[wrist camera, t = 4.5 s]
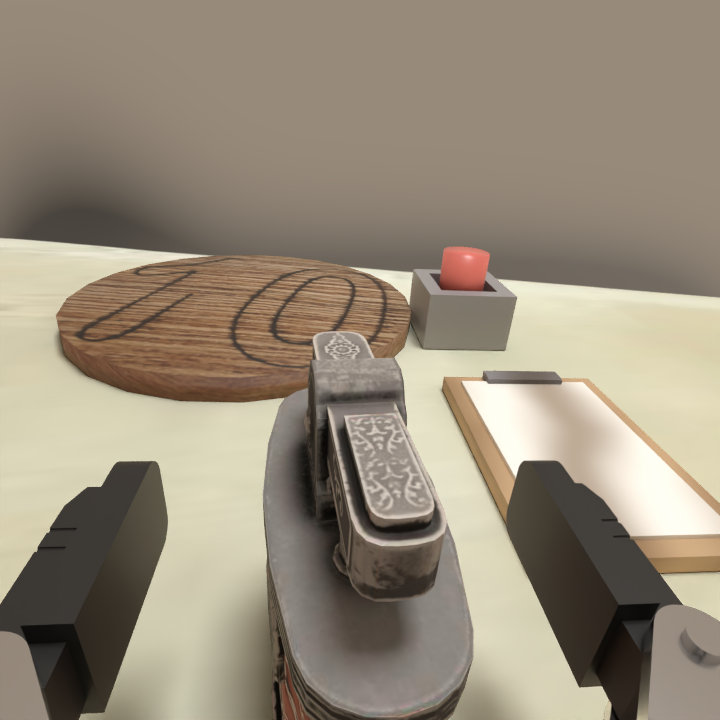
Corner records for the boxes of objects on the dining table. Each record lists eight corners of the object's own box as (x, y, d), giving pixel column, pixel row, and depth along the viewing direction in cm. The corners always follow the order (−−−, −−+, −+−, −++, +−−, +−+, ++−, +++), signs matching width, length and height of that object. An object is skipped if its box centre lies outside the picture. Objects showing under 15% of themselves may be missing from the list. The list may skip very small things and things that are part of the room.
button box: (423, 348, 33) (430, 294, 31) (408, 316, 38) (413, 269, 36) (505, 350, 33) (517, 297, 32) (479, 318, 39) (488, 271, 37)
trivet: (-40, 386, 26) (-52, 355, 25) (163, 265, 48) (161, 246, 47) (413, 428, 25) (417, 397, 24) (406, 285, 47) (408, 266, 46)
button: (441, 315, 33) (450, 257, 31) (431, 300, 36) (439, 245, 34) (484, 316, 34) (496, 258, 32) (471, 301, 36) (481, 247, 35)
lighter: (270, 578, 16) (259, 296, 11) (368, 566, 16) (395, 296, 12) (275, 949, 9) (251, 596, 4) (447, 904, 9) (586, 556, 5)
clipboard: (531, 577, 16) (539, 551, 16) (442, 388, 28) (445, 369, 27) (763, 569, 17) (779, 544, 17) (584, 389, 29) (589, 371, 28)
